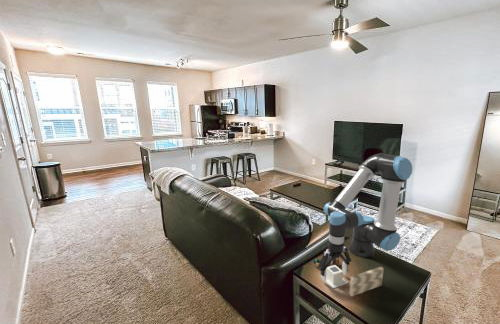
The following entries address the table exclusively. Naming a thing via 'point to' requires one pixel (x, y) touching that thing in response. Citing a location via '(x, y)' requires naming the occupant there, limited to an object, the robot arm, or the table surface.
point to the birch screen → (366, 281)
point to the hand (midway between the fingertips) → (334, 277)
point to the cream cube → (334, 274)
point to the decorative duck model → (320, 260)
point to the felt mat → (336, 283)
